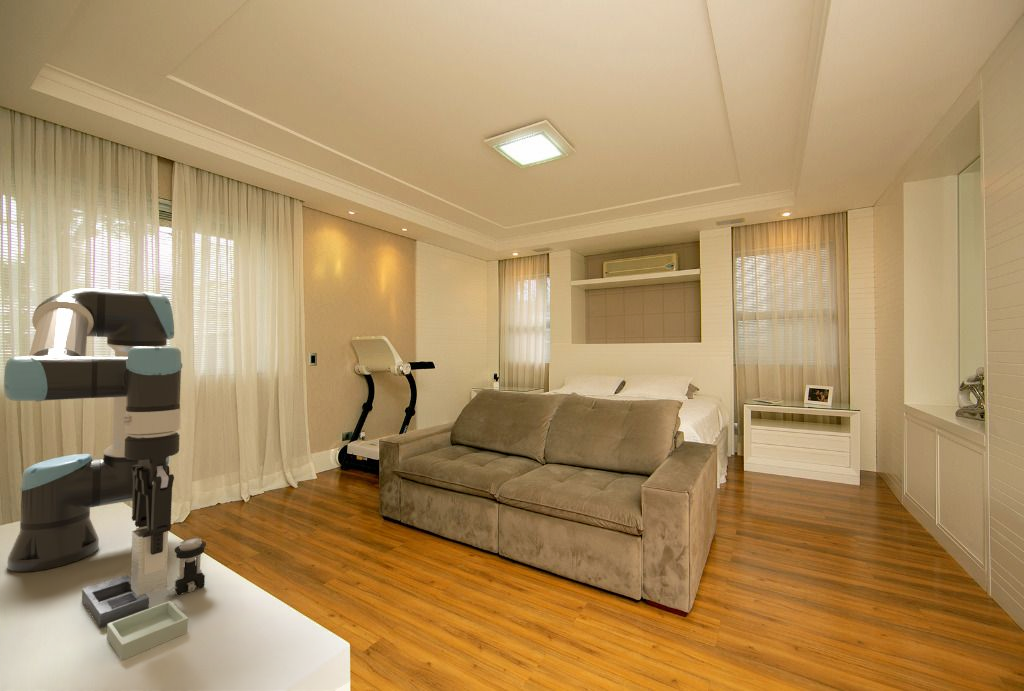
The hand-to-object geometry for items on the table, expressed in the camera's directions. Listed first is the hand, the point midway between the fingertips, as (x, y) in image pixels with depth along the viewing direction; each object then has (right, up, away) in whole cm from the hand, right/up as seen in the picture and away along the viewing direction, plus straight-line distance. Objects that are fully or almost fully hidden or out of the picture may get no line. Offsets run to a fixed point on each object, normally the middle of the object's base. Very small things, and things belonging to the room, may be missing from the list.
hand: (149, 566), depth 78 cm
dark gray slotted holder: (-14, -12, +9) cm, 20 cm away
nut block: (0, -4, 0) cm, 4 cm away
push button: (-4, -12, +14) cm, 19 cm away
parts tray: (0, -12, 0) cm, 12 cm away
